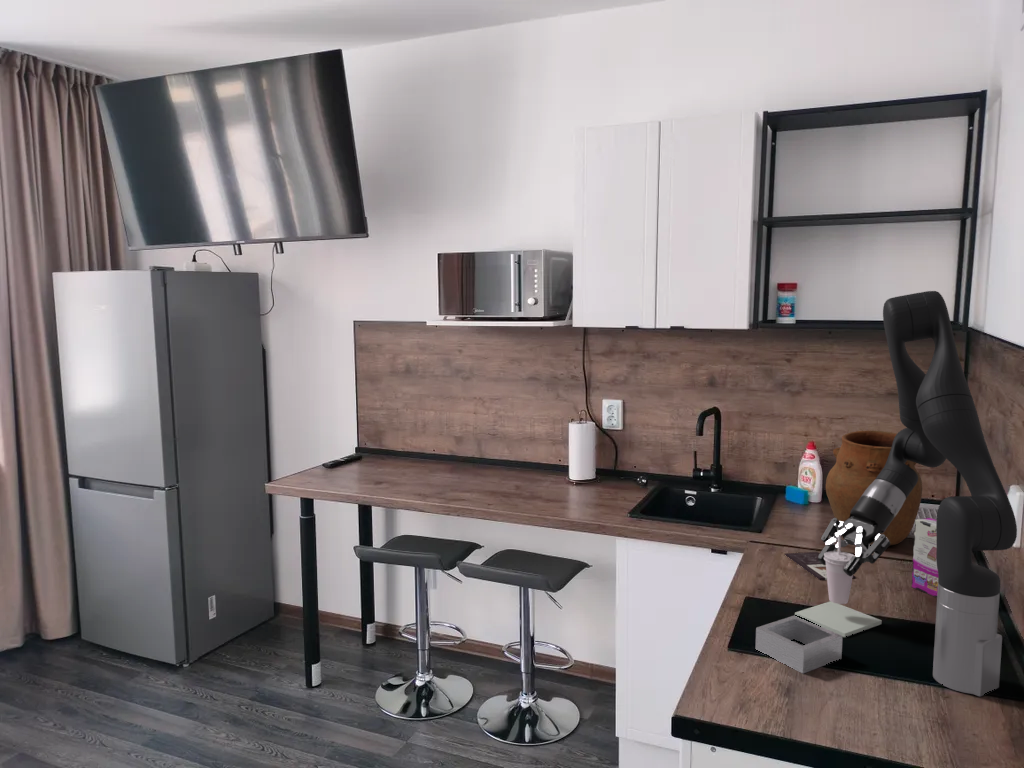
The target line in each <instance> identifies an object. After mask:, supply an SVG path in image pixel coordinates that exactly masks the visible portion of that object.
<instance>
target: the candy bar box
mask: <svg viewBox="0 0 1024 768" xmlns="http://www.w3.org/2000/svg"><path fill="white" fill-rule="evenodd" d="M936 521H937V519H935V518H931V517H924V518H919V519H918V518H917V519H915V522H914V533H913V534H914V535H913V551H912V552H913V553H912V554H913V555H912V571H911V572H912V573H911V588H913V589H915V590H917V591H920V592H923V593H924V594H928V595H929V596H932V597H934V598H937V593H938V568H937V562H936V550H937V535H936Z"/></svg>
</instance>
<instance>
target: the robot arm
mask: <svg viewBox="0 0 1024 768" xmlns="http://www.w3.org/2000/svg"><path fill="white" fill-rule="evenodd" d="M882 307H883V308H882V319H883V320H882V321H883V326H884V331H885V332H884V333H885V338H886V342H887V347H888V351H889V352H888V353H889V358H890V361H891V365H892V371H893V374H894V377H895V378H894V379H895V382H896V388H897V395H898V409H899V410H898V411H899V419H900V422H901V424H902V425H903V426H904V427H905V428H903V429H901V430H900V431H898V432H896V433H897V435H896V436H895V438H894V441H893V444H892V447H891V450H890V453H889V456H888V459H887V461H886V464H885V466H884V468H883V469H882V471H881V472H880V473H879V475H878V476H877V478H876V479H875V480H874V481H873V482H872V484H870V485H869V487H868V488H867V489H866V490H865V492H864V493H863V495H862V496H861V497H860V499H859V500H858V501H857V503H856V504H855V506H854V507H853V508H852V510H851V512H850V517H849V518H848V519H847V520H846V521H844V522H842V521H838V520H837V518H835V517H833V518H831V520H830V522H829V523H828V525H827V527H826V528H825V530H824V532H823V534H821V538H820V540H821V541H822V542H823V544H825V546H824V547H823V549H821V551H820V554H819V556H818V561H819V562H820V563H821V564H823V565H826V561H825V560H824V554H825V553H826V552H829V551H838V535H839V534H840V535H841V548H845V547H847V546H849V545H852V546H855V553H854V554H855V556H852V558H851V559H850V560H849V562H848V563H847V565H846V566H845V568H844V572H845V573H846V574H847V575H848V576H852V575H854V576H855V574H856V573H857V572H858V570H859V569H860V567H862V565H863V564H865V563H870V564H872V565H873V564H875V563H876V562H877V560H878V559H879V558H880V557H881V556H882V554H883V553H884V552H885V551H886V550H887V549H888V547H890V546H891V545H890V544H891V543H890V541H889V540H888V538H887V537H886V536H885V535H884V534H881V533H884V532H885V530H886V529H887V527H888V526H889V524H890V523H891V522H892V520H893V519H894V517H895V516H896V515H897V513H898V512H899V510H900V509H901V507H902V505H903V503H904V501H905V500H906V498H907V497H908V495H909V494H910V492H911V491H912V490H913V488H914V487H915V485H916V484H917V482H918V475H917V473H916V472H915V471H914V470H913V469H912V468H911V467H909V466H908V465H906V464H905V463H906V461H907V460H909V461H912V462H915V463H916V464H919V465H920V466H921V465H922V466H924V467H927V468H937V467H940V466H941V465H943V464H944V462H945V461H946V460H947V461H949V463H950V464H951V465H952V466H954V467H955V469H956V470H957V471H958V473H959V474H960V475H961V477H963V480H964V482H965V484H966V485H967V488H968V490H969V493H970V496H969V495H965V496H964V495H960V496H959V495H958V496H955V495H954V496H947V497H945V498H944V499H942V500H941V502H940V503H939V506H938V508H937V513H936V520H937V521H936V535H937V550H936V562H937V568H938V593H937V597H936V609H935V610H936V611H935V612H936V613H935V625H934V626H935V628H934V629H935V630H934V647H933V663H932V666H933V667H932V677H933V679H934V680H935V681H936V682H938V683H939V684H940V685H942V684H943V685H942V686H943V687H946V688H948V689H950V690H953V691H957V692H959V693H960V692H961V693H963V694H964V693H965V694H971V695H975V696H977V697H983V696H985V695H986V694H985V693H987V692H989V691H991V692H993V691H995V690H997V689H999V688H1000V678H1001V677H1000V676H1001V675H1000V674H1001V661H1002V660H1001V658H1002V647H1003V645H1002V644H1003V636H1002V634H999V633H998V623H999V608H1000V596H1001V595H1000V592H1001V578H1000V576H999V575H998V574H997V573H996V572H994V571H993V570H991V569H989V568H987V567H984V566H982V565H980V564H976V563H973V558H972V552H973V551H974V552H975V551H978V552H979V551H983V552H984V551H1004V550H1009V549H1011V548H1012V547H1014V544H1015V543H1016V540H1017V536H1018V528H1017V527H1018V526H1017V521H1016V516H1015V513H1014V509H1013V507H1012V504H1011V502H1010V500H1009V497H1008V494H1007V493H1006V490H1005V487H1004V485H1003V482H1002V481H1001V479H1000V476H999V473H998V472H997V470H996V467H995V464H994V462H993V459H992V456H991V453H990V451H989V449H988V445H987V442H986V439H985V436H984V434H983V433H984V432H983V430H982V426H981V422H980V417H979V413H978V411H977V408H976V405H975V402H974V399H973V398H974V397H973V396H972V393H971V390H970V388H969V385H968V382H967V379H966V376H965V373H964V369H963V367H962V364H961V361H960V357H959V353H958V349H957V345H956V340H955V335H954V332H953V327H952V323H951V319H950V313H949V311H948V307H947V304H946V301H945V299H944V297H943V295H942V294H941V293H940V292H939V291H938V290H937V291H936V290H927V291H921V292H916V293H909V294H904V295H899V296H894V297H891V298H888V299H886V300H885V302H884V304H883V306H882ZM927 339H931V340H933V344H934V349H933V350H934V351H933V355H932V359H931V361H930V365H929V366H928V369H927V371H926V372H924V371H923V370H922V369H921V368H920V367H919V365H917V364H916V363H915V362H914V360H913V359H912V357H911V356H910V354H909V353H908V350H907V348H906V343H908V342H914V341H921V340H922V341H923V340H927ZM842 528H843V529H842ZM880 534H881V535H880ZM842 538H843V539H842ZM872 542H874V543H873V544H872V545H871V546H870V543H872ZM994 689H995V690H994ZM992 690H993V691H992ZM989 693H990V692H989ZM984 694H985V695H984ZM987 694H988V693H987Z"/></svg>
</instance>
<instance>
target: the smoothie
mask: <svg viewBox="0 0 1024 768" xmlns="http://www.w3.org/2000/svg"><path fill="white" fill-rule="evenodd" d="M841 539H842V537H841V535H840V534H839V535H838V541H837V542H838V549H837V550H836V551H829V552H826V553H825V554H824V560H825V561H826V572H827V580H826V582H827V591H828V592H827V594H828V599H829V602H830V601H831V602H833V603H837V604H840V605H845V604H848V603H849V598H850V593H851V589H852V588H851V587H852V582H853V579H852V578H853V575H852V576H848V575H847V574H846V573H845V572H844V568H845V566H846V565H847V563H848V562H849V560H850V559H851V558H852V556H855V555H854V554H853V553H850V552H846V551H841V549H842V547H841Z"/></svg>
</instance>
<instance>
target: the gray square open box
mask: <svg viewBox="0 0 1024 768" xmlns="http://www.w3.org/2000/svg"><path fill="white" fill-rule="evenodd" d="M793 639H795V640H797V641H800V642H802V643H803V644H805V645H803V644H800V643H798V642H796V641H791V640H793ZM755 649H756V650H758V651H760V652H762V653H764V654H767V655H769V656H770V657H772V658H774V659H776V660H777V662H778V661H779V663H780V662H781V663H780V664H782V663H783V665H784V664H786V665H787V667H788V666H789V667H788V668H790V667H791V669H792V668H793V670H795V671H797V672H799V673H801V674H806V673H808V672H811V671H814V670H817V669H818V668H821V667H824V666H826V664H827V665H829V664H831V663H830V662H832V663H834V662H833V661H835V662H837V661H839V659H840V660H842V654H843V653H842V652H843V636H842V635H839V634H837V633H834V632H832V631H830V630H827V629H825V628H823V627H820V626H818V625H816V624H813V623H811V622H808V621H806V620H804V619H801V618H799V617H797V616H795V615H791V616H788V617H785V618H782V619H778V620H776V621H773V622H770V623H766V624H763V625H761V626H757V627H756V628H755ZM756 650H755V651H756ZM758 651H757V652H758ZM760 652H759V653H760ZM762 653H761V654H762ZM764 654H763V655H764ZM770 657H769V658H770ZM772 658H771V659H772ZM774 659H773V660H774ZM776 660H775V661H776ZM836 660H837V661H836ZM828 663H829V664H828ZM786 665H785V666H786Z"/></svg>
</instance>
